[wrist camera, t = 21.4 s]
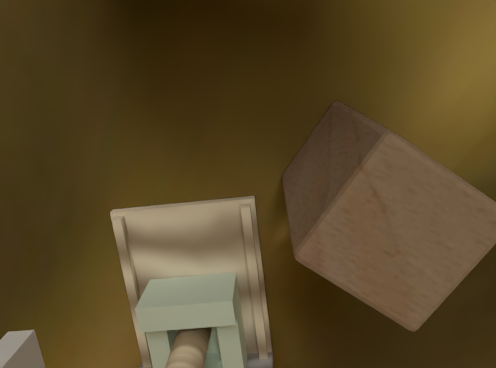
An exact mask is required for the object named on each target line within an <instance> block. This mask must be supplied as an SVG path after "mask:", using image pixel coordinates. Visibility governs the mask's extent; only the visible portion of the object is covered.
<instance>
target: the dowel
mask: <svg viewBox="0 0 496 368" xmlns="http://www.w3.org/2000/svg"><path fill="white" fill-rule="evenodd" d="M211 331H212V327H205V328H192V329H180V330H178V332H177V335H176V338H175V341H174V343H173V346H172V349H171V352H170V355H169V358H168V361H167V364H166V367H165V368H204V363H205V359H206V354H207V350H208V345H209V340H210V336H211Z"/></svg>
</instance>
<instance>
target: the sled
mask: <svg viewBox="0 0 496 368" xmlns="http://www.w3.org/2000/svg"><path fill="white" fill-rule="evenodd" d="M135 312H136V317H137V321H138V326H139V331H140V333H141V332H146V337H147V342H148V346H149V351H150V356H151V361H152V365H153V368H165V367H166V364H167V361H168V358H169V355H170V352H171V349H172V346H173V343H174V341H175V338H176V335H177V332H178V330H180V329H192V328H205V327H212V331H211V336H210V340H209V345H208V350H207V354H206V359H205V363H204V368H246V367H247V349H246V341H245V334H244V326H243V319H242V312H241V304H240V297H239V289H238V282H237V275H236V272H232V273H221V274H209V275H197V276H186V277H174V278H163V279H151V280H150V281H149V283H148V284H147V286H146V288H145V290H144V292H143V294H142V296H141V298H140V300H139V302H138V304H137V306H136V308H135Z"/></svg>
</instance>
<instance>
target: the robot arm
mask: <svg viewBox="0 0 496 368" xmlns="http://www.w3.org/2000/svg"><path fill="white" fill-rule="evenodd" d="M0 368H45V365H44V361H43V358H42V355H41V351H40V348H39V344H38V341H37V338H36V334H35V331H34V330H26V331H13V332H7V334H6V335H5V336H4V337H3V338H2V339H1V340H0Z"/></svg>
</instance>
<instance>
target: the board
mask: <svg viewBox="0 0 496 368" xmlns="http://www.w3.org/2000/svg"><path fill="white" fill-rule="evenodd" d="M110 215H111V220H112V225H113V229H114V234H115V238H116V243H117V248H118V252H119V257H120V261H121V266H122V271H123V275H124V280H125V285H126V289H127V294H128V298H129V303H130V308H131V312H132V317H133V321H134V326H135V331H136V335H137V340H138V345H139V349H140V354H141V358H142V363H141V365H140V368H153V365H152V361H151V356H150V351H149V346H148V342H147V337H146V332H141V333H140V331H139V326H138V321H137V317H136V312H135V308H136V306H137V304H138V302H139V300H140V298H141V296H142V294H143V292H144V290H145V288H146V286H147V284H148V283H149V281H150V280H151V279H163V278H174V277H186V276H197V275H209V274H221V273H232V272H236V275H237V282H238V289H239V297H240V304H241V312H242V319H243V326H244V334H245V341H246V349H247V367H246V368H273V352H272V343H271V335H270V326H269V317H268V309H267V300H266V291H265V283H264V274H263V265H262V257H261V248H260V239H259V231H258V222H257V213H256V205H255V196H246V197H236V198H226V199H215V200H205V201H195V202H185V203H174V204H164V205H154V206H144V207H134V208H123V209H113V210H112V211H111V212H110Z"/></svg>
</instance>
